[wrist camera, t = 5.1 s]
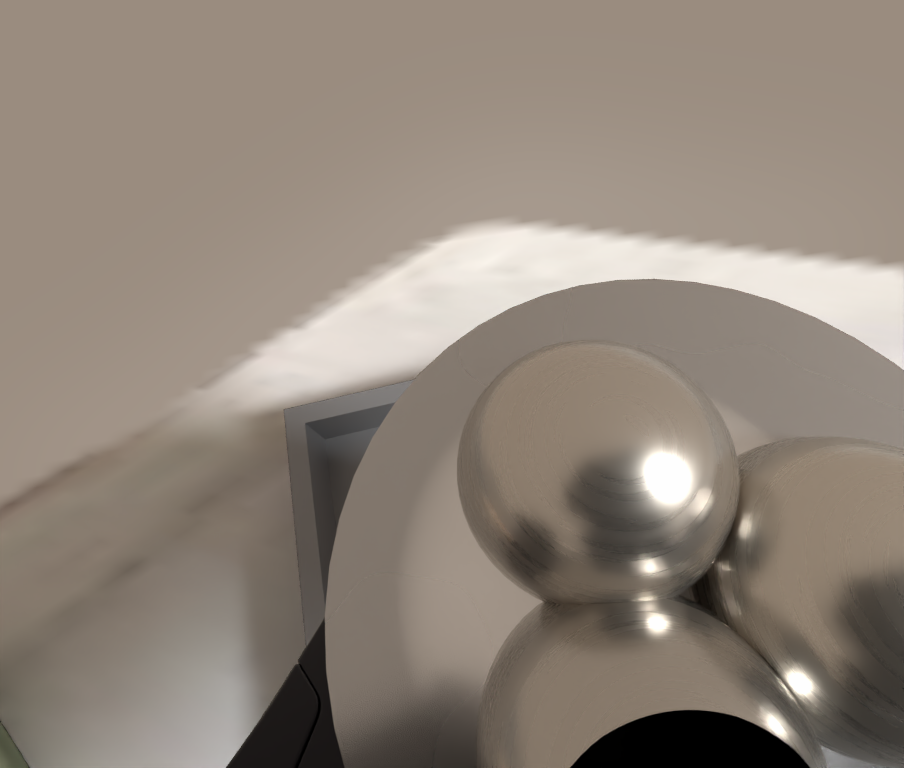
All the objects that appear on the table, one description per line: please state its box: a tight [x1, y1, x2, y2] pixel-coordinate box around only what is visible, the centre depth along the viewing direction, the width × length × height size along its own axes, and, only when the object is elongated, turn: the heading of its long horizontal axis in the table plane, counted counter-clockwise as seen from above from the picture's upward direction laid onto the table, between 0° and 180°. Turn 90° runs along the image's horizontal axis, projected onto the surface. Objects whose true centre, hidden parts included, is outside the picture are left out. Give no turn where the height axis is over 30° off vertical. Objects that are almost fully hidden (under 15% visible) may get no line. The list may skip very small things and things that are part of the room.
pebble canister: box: [325, 279, 904, 768], centre depth 8 cm, size 5×5×13 cm
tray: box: [284, 380, 414, 646], centre depth 14 cm, size 12×12×3 cm
